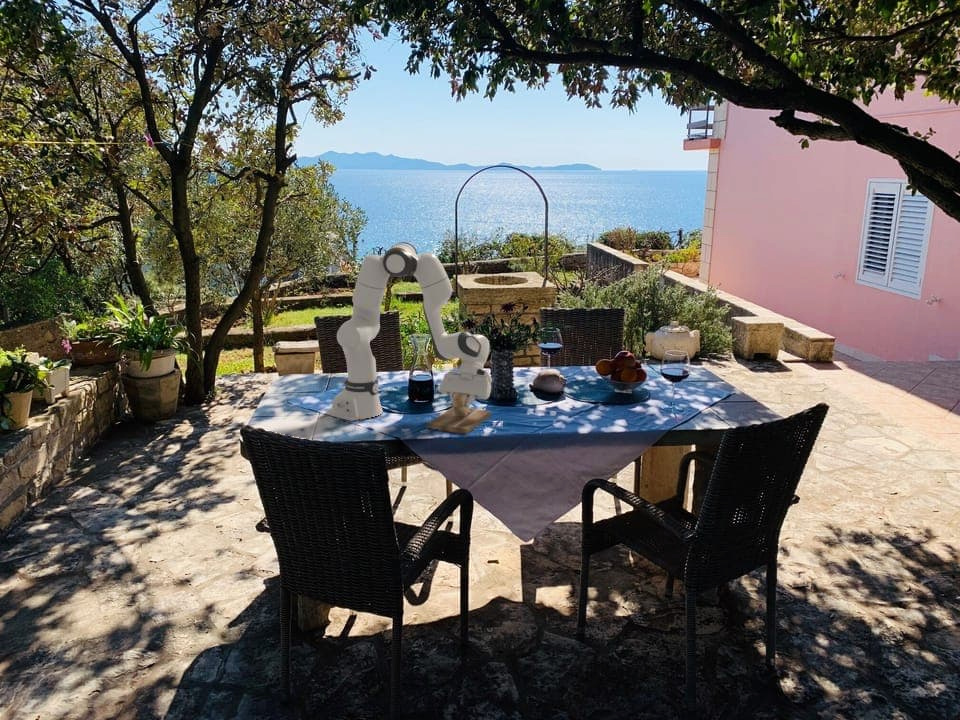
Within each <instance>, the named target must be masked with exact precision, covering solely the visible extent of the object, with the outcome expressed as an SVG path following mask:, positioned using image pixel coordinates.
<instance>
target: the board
mask: <svg viewBox="0 0 960 720" xmlns="http://www.w3.org/2000/svg"><path fill="white" fill-rule="evenodd" d="M469 409H470V414H468V415H467V416H466V417H463V416H455V412H454V407H453V406H451V407H450V408H448V410H446V411H444V412H443V413H441V414H440V415H437V416H436V417H435V418H434V419H432V420H430V421H429V422H428V423H427V429H428V428H432V429H431V430H435V429H438V430H437V431H443V432H451V433H456V434H464V435H467V434H468V433H470V432H471V431H472V430H474V429H475V428H477V427H478V426H479V425H481V424H483V423H484V421H486V420H488V419H489V418H490V417H491V415H492V413H491V410H483V409H478V408H477V409H476V408H470V407H469Z"/></svg>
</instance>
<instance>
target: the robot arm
mask: <svg viewBox="0 0 960 720" xmlns="http://www.w3.org/2000/svg"><path fill="white" fill-rule="evenodd" d="M390 276H392V277H397V278H399V277H401V278H403V277H411V276H414V277H415V279H416V281H417V282H418V284H419V287H420V289H421V291H422V292H421V294H422V296H423V301H422V310H423V314H424V317H425V321H426V324H427V327H428V331H429V335H430V338H431V343H432V350H433V354H434V355H435V357H437V358H438V360H440V361H443V362H448V361H451V360H453V359H461V360H462V361H461V364H460V366H459V370H458V372H457V371H456V372H453V371H449V372H447V373H445V374H444V376H443V379H442V380H441V382H440V384H439V386H438V388H439V389H438V390H439V392H440V393H441V394H442V395H446V396H447V395H449V398H450V401H449V405H450V406H453V402H452V397H453V396H454V395H455V393H461V394H467V398H468V401H465V404H464V406H465V407H468V408H470V406H471V404H472V403H474V401H475V400H476V399H480V400H481V399H482V400H487V399H489V398H490V396H491V392H492V383H493V378H492V376H491V375H490V373H489V372H488V371H487V370H485V369H484V365H485V364H486V362H487V360H488V357H489V352H490V348H491V347H490V341H489V339H488V338H487V337H486V336H484V335H482V334H480V333H479V334H472V333H471V332H469V331H468V330H467V331H466V330H465V331H464V330H463V331H457V332H455V333H450V334H449V333H447V332H446V330H445V327H444V322H443V320H442V317H441V310H442V308H443V307H444V306H445V305H446V303H448V302H449V300H450V299H451V296H452V294H453V287H452V283H451V280H450V278H449V276H448V273H447V272H446V270H445V267H444V266H443V264H442V262H441V260H440V259H439V258H438V256H437V255H436V254H435V253H432V252H425V253H421V254H418V252H417V249H416V247H415V246H413V244H411V243H409V242H405V241H403V242H401V241H400V242H398V243H396V244H394V245H392V246H391V247H389V248H388V250H386V252H385V253H384V255H379V254H369V255H367V256H366V257H365V258H364V260H363V262H362V264H361V267H360V268H359V271H358V276H357V279H356V283H355V287H354V290H353V294H352V299H351V300H352V303H353V308H352V309H353V310H352V316H351V318H350V319H349V320H347V321H344V322H343V323H342V324H341V326H340V327H339V329H338V330H337V332H336V340H337V343H338V344H339V345H340V347H341V348H342V351H343V352H344V353H343V354H344V357H345V361H346V368H347V379H346V380H345V381H343V382H342V386H344V388H343V390H341V391H340V392H339V393H338V394H337V395H336V396H334V397H333V399H332V403H331V404H332V405H331V406H332V407H330V408H328V409H327V410H326V415H327V416H331V417H334V418H339V419H342V420H346V421H350V422H354V420H355V421H358V420H359V419H360V420H367V419H366V418H369V419H372V418H371V417H374V418H376V417H375V416H377V417H379V416H381V415H382V414H383V413H384V411H383V408H382V405H381V401H380V396H379V378H378V377H377V364H376V363H377V361H376V358H375V356H374V355H373V353H372V349H371V345H370V343H371V341H373V339H375V338H376V337H377V335H378V333H380V329H381V325H380V324H381V323H380V319H381V318H380V317H381V309H382V308H381V307H382V302H383V300H384V299H383V298H384V295H385V292H386V288H387V284H388V280H389V278H390ZM382 412H383V413H382ZM380 414H381V415H380ZM378 415H379V416H378Z"/></svg>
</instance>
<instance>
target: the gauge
mask: <svg viewBox="0 0 960 720" xmlns="http://www.w3.org/2000/svg"><path fill="white" fill-rule="evenodd" d="M468 400H469V397H467V394H461V393H455V395H454V396H453V397H452V402H453V405H452V407H454V412H455V416H463V417H466V416H467V415H468V414H470V409H471V408H470V407H469V408H470V409H469V408H468V407H465V406H464V404H465V401H468Z"/></svg>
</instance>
